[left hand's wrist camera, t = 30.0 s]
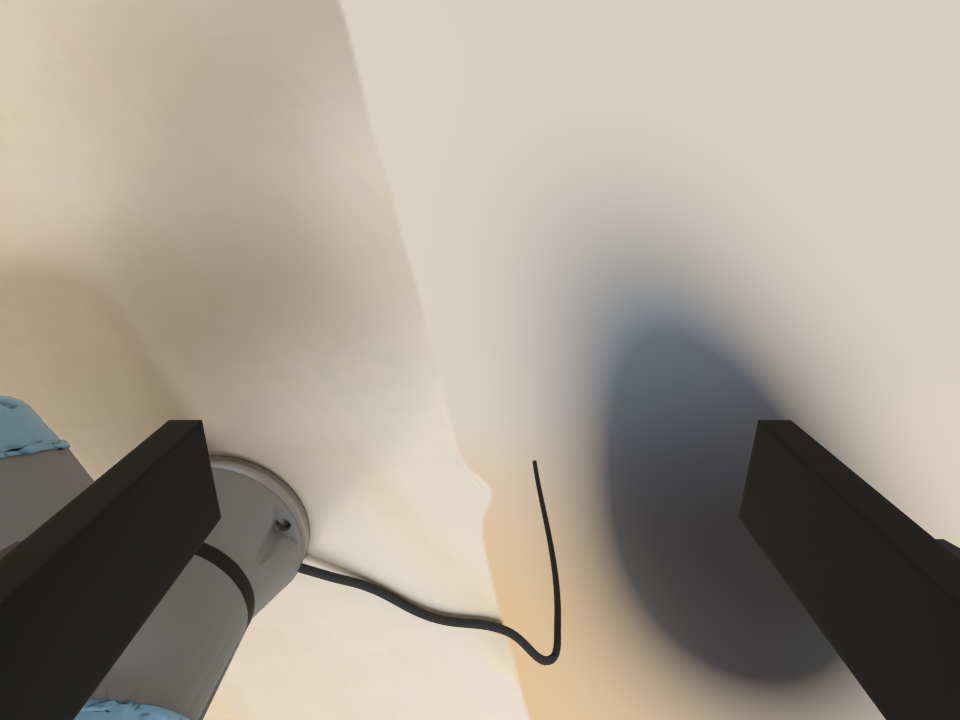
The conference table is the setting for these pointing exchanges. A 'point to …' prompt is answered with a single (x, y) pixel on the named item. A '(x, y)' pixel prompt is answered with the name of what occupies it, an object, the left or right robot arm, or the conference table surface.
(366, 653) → the conference table surface
